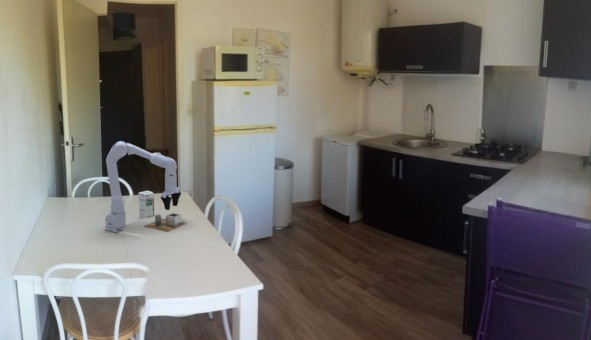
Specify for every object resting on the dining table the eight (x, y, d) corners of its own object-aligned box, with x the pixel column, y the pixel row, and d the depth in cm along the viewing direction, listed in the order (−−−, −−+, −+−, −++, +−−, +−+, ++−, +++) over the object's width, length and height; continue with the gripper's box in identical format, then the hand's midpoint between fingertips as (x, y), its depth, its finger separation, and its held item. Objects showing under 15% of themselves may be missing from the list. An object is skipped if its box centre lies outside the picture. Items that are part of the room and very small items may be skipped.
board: (168, 234, 238) (167, 231, 238) (142, 229, 244) (142, 226, 244) (187, 226, 253) (187, 223, 252) (163, 221, 259) (163, 218, 259)
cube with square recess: (174, 226, 246) (174, 217, 245) (166, 224, 248) (165, 215, 247) (181, 223, 251) (181, 214, 250) (172, 222, 253) (172, 212, 252)
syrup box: (145, 220, 259) (145, 194, 256) (139, 217, 263) (138, 192, 260) (154, 217, 264) (154, 192, 261) (147, 215, 267) (147, 190, 264)
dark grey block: (161, 225, 247) (161, 216, 246) (155, 226, 246) (155, 216, 245) (160, 223, 249) (160, 214, 248) (155, 224, 248) (154, 215, 247)
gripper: (170, 186, 240) (170, 212, 243) (184, 180, 254) (185, 205, 256) (157, 184, 242) (158, 210, 245) (172, 178, 255) (173, 203, 258)
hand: (171, 207), depth 251 cm, fingers open, 7 cm apart
